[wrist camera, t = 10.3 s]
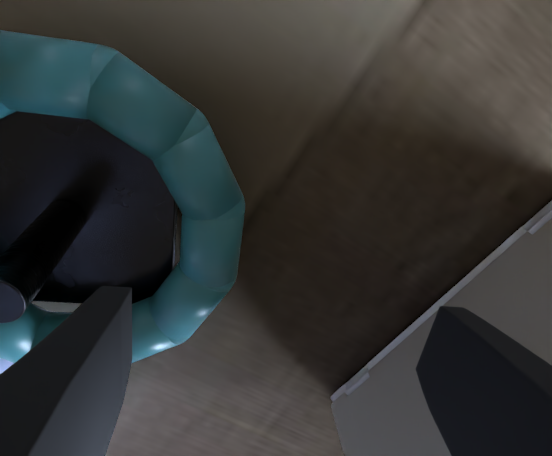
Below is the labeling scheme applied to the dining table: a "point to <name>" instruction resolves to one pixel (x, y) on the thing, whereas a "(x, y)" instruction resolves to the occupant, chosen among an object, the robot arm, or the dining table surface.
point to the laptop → (409, 344)
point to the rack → (78, 214)
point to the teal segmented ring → (166, 157)
